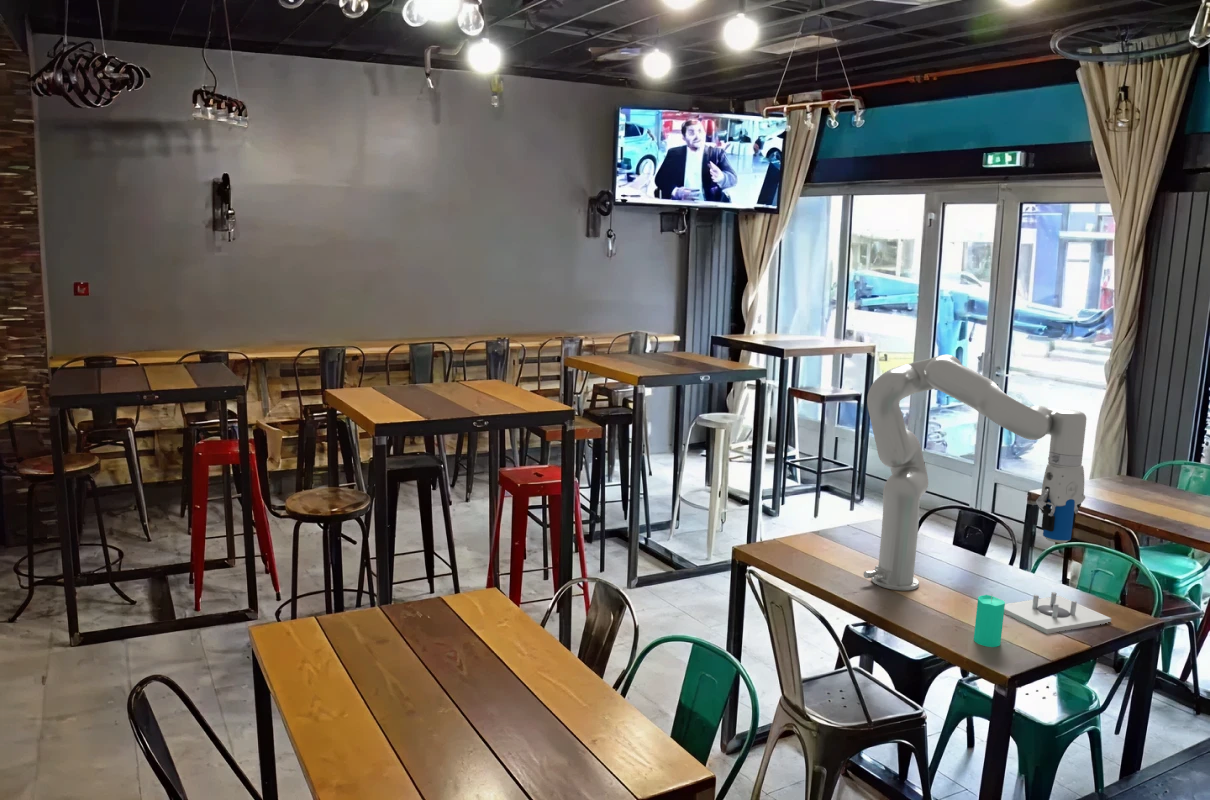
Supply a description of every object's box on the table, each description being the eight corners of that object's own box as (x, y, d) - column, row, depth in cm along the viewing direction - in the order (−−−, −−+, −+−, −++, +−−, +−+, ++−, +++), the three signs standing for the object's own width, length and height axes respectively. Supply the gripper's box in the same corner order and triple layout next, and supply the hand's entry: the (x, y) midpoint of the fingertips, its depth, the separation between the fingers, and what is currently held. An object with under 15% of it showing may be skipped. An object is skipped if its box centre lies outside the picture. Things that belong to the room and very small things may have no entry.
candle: (969, 636, 227) (974, 588, 225) (994, 637, 227) (1000, 589, 225) (978, 646, 221) (984, 598, 219) (1004, 647, 221) (1010, 599, 219)
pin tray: (1046, 633, 230) (1048, 615, 229) (996, 609, 245) (998, 592, 244) (1110, 622, 239) (1113, 605, 238) (1058, 599, 253) (1060, 583, 252)
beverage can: (1075, 544, 236) (1080, 497, 234) (1049, 543, 236) (1054, 496, 234) (1063, 536, 242) (1068, 490, 240) (1038, 535, 242) (1042, 490, 240)
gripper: (1052, 465, 229) (1044, 536, 232) (1102, 460, 236) (1095, 529, 239) (1027, 458, 236) (1020, 527, 239) (1077, 454, 243) (1070, 521, 245)
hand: (1057, 528), depth 239 cm, fingers closed on beverage can, 6 cm apart
